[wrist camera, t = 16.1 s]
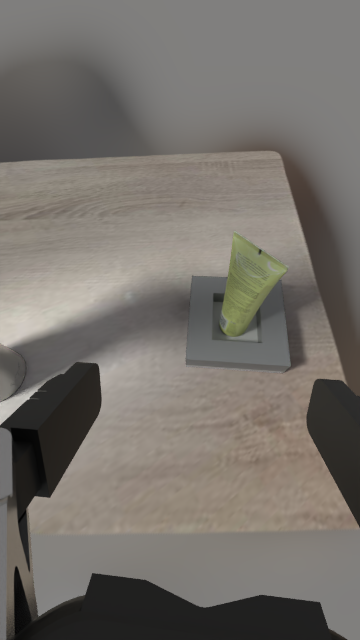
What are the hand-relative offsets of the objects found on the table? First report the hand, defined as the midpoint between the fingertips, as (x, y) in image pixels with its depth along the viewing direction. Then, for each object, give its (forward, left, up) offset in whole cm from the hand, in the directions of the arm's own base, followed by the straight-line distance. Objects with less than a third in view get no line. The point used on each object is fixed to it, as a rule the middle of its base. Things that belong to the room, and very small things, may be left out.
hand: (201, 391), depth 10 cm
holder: (+6, +18, -33) cm, 38 cm away
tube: (+6, +18, -32) cm, 37 cm away
